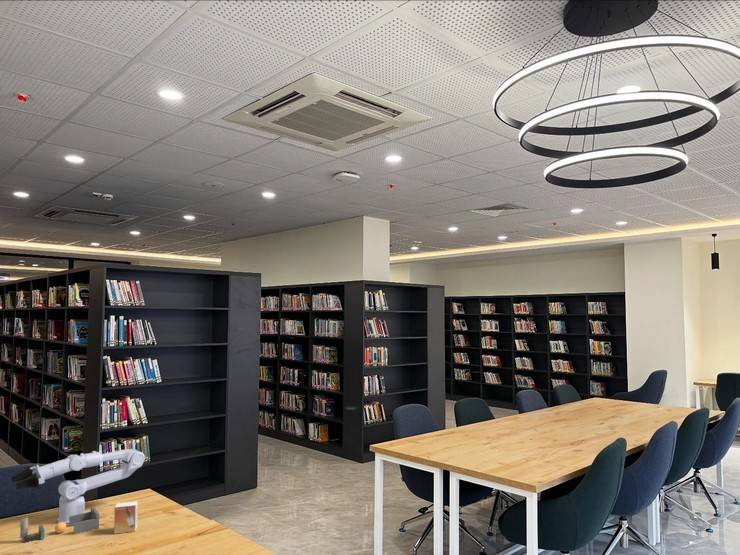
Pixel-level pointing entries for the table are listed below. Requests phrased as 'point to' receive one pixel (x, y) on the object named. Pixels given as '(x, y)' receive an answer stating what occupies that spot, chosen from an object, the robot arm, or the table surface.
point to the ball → (60, 527)
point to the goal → (85, 521)
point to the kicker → (25, 530)
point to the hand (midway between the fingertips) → (13, 482)
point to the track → (31, 538)
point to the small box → (125, 517)
